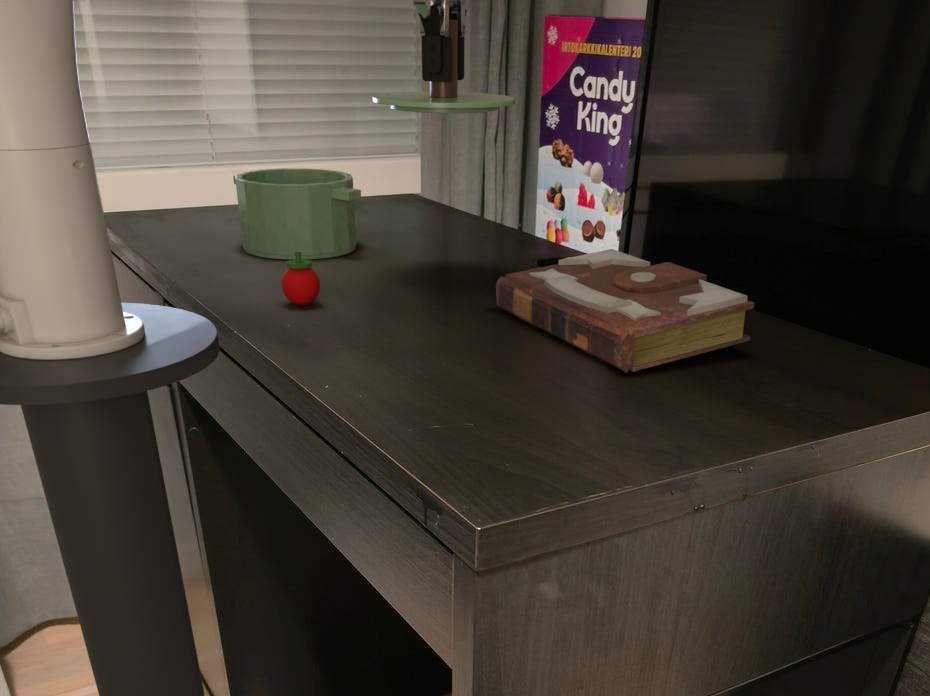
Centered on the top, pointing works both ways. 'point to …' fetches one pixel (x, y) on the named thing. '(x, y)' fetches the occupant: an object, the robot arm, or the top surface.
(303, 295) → the tomato
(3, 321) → the robot arm
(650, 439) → the top surface
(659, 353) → the book
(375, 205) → the top surface
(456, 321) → the top surface
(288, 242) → the pot
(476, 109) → the lid
